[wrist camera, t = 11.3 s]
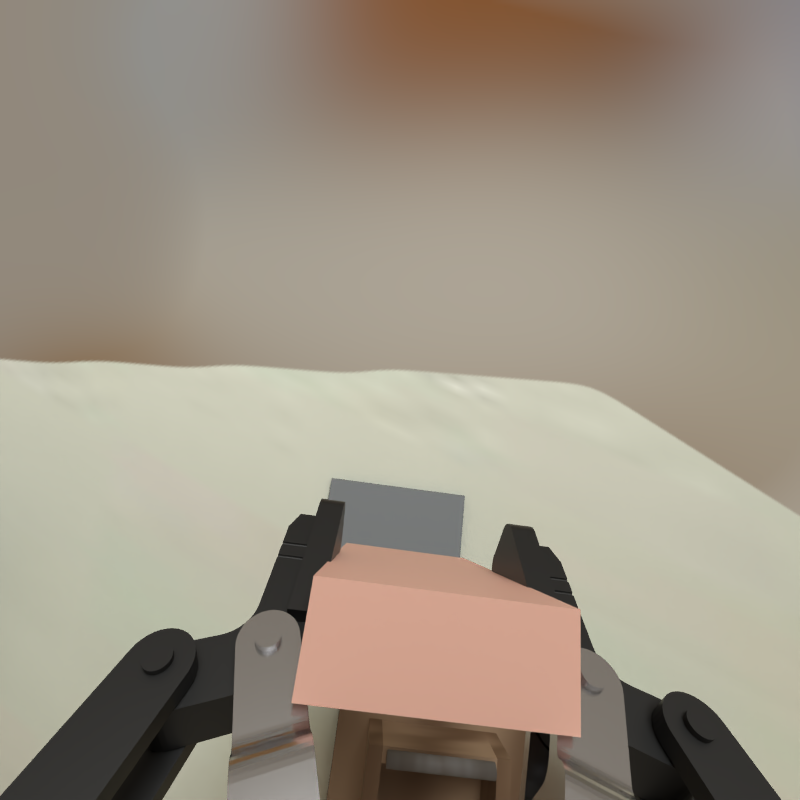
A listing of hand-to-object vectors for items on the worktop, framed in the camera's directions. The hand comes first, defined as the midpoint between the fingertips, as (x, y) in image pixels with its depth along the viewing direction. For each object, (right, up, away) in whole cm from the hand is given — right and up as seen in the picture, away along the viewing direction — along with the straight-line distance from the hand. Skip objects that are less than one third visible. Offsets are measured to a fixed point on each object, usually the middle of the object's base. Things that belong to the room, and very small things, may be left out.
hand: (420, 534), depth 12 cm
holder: (+1, -19, +13) cm, 23 cm away
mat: (-1, -6, +17) cm, 18 cm away
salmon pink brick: (-1, -3, +4) cm, 5 cm away
